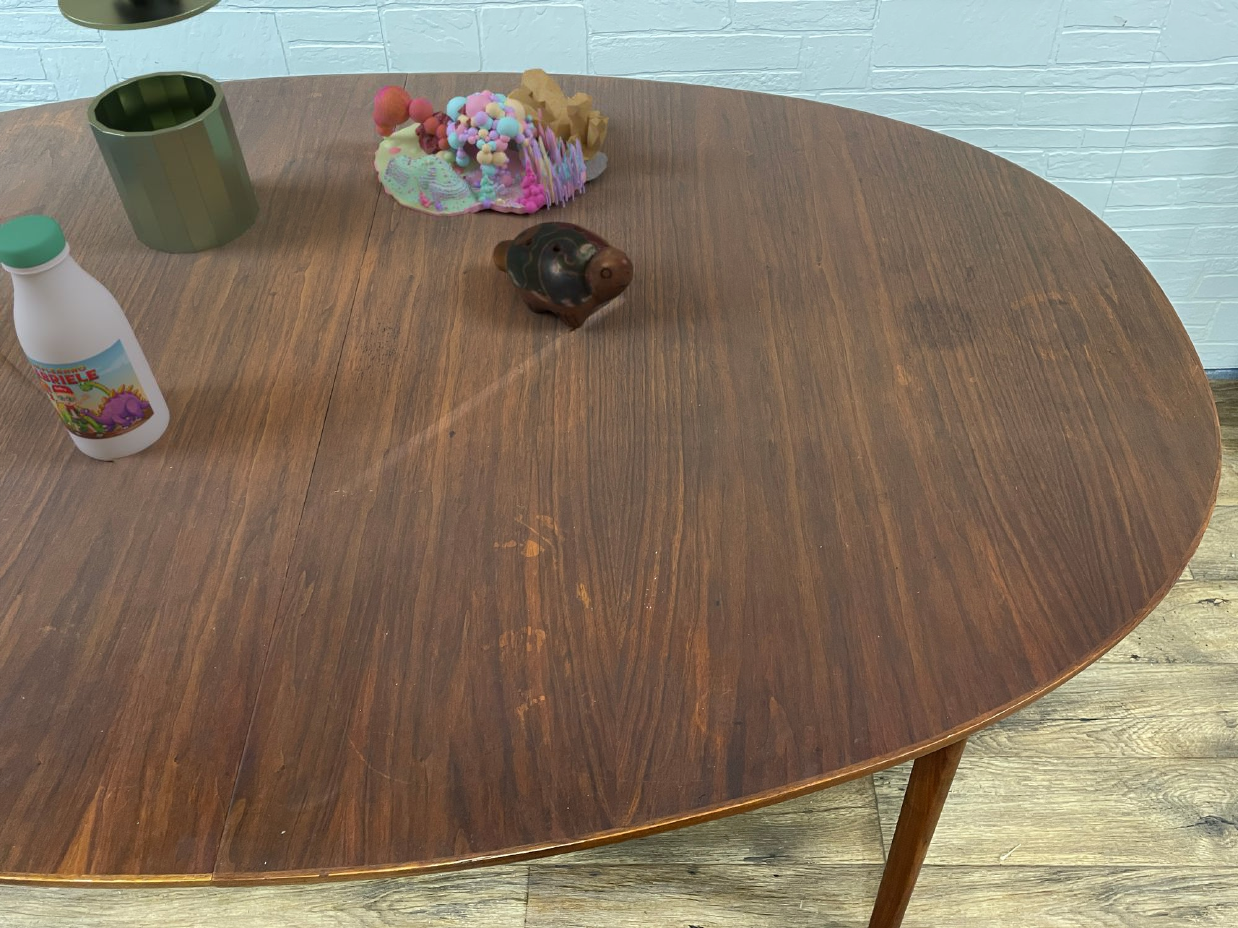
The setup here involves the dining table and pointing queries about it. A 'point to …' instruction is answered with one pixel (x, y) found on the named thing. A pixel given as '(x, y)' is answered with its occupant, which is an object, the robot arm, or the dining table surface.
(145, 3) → the tin lid
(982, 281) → the dining table surface
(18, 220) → the milk bottle
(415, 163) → the candy landscape model
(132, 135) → the tin
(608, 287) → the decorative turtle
